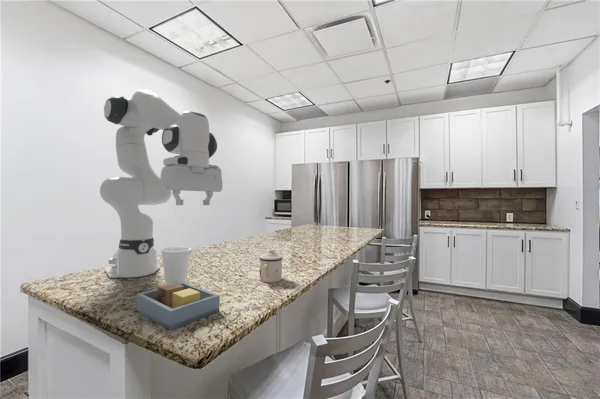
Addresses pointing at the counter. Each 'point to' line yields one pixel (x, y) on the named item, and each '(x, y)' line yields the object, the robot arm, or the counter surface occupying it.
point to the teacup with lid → (270, 267)
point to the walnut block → (168, 293)
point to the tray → (179, 315)
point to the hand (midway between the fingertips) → (193, 205)
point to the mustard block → (184, 297)
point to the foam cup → (176, 264)
